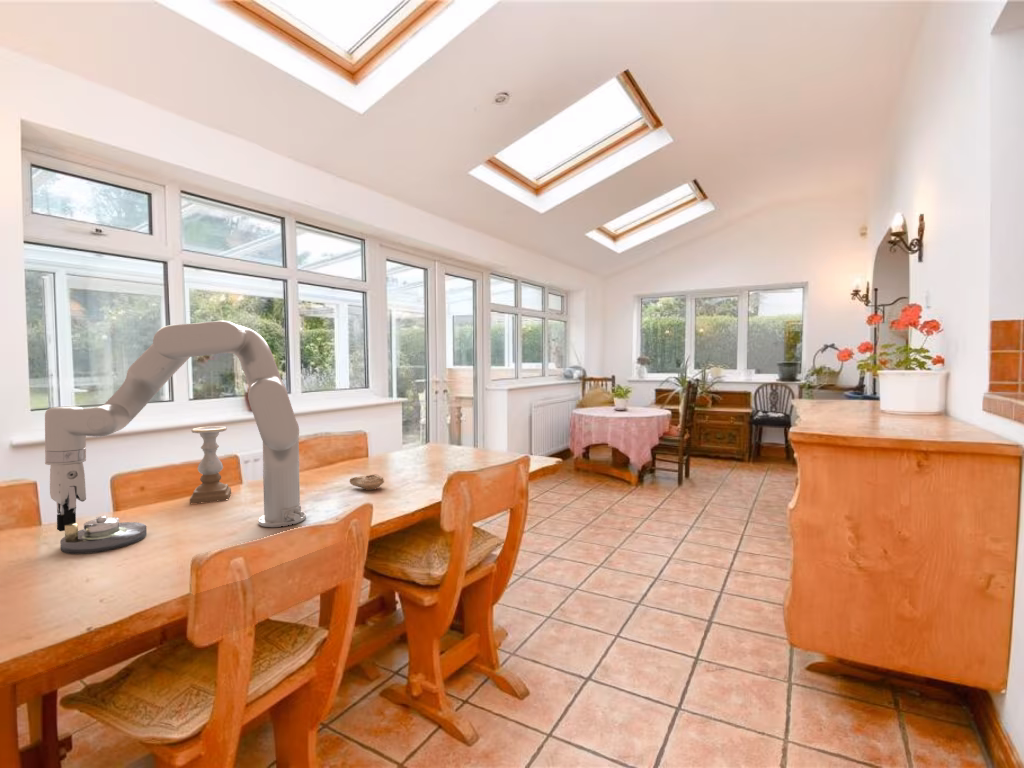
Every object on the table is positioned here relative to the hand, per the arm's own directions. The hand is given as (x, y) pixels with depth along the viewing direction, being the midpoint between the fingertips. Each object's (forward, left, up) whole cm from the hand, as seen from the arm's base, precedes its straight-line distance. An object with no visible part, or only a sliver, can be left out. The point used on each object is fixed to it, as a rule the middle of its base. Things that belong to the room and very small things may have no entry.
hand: (66, 529), depth 123 cm
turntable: (-4, -7, -5) cm, 9 cm away
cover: (-3, -6, -2) cm, 7 cm away
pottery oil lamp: (-17, -79, -5) cm, 82 cm away
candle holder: (+16, -42, -5) cm, 45 cm away
